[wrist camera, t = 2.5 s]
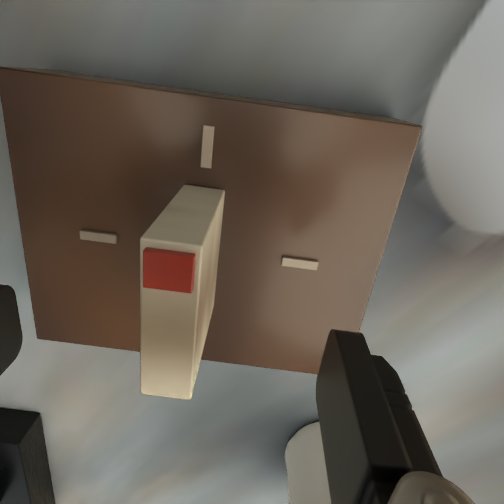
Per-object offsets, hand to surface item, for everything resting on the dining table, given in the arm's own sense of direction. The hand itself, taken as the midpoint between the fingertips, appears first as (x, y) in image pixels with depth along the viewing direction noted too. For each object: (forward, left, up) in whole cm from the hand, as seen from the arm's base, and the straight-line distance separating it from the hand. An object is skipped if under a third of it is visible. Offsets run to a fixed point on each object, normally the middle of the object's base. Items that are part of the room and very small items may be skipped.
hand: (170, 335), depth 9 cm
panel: (0, 0, -8) cm, 8 cm away
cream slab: (0, 0, -5) cm, 5 cm away
